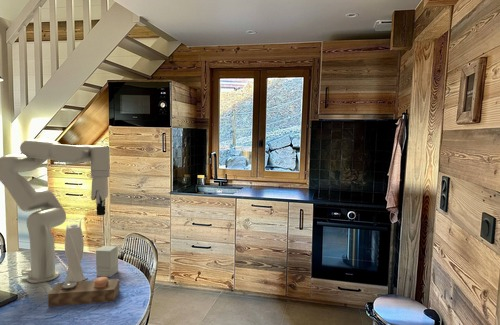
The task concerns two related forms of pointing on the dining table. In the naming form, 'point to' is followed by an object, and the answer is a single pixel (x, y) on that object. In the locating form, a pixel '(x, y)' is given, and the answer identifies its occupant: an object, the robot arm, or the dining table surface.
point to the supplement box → (107, 261)
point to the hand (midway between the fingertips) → (101, 214)
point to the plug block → (83, 293)
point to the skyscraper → (74, 252)
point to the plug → (69, 285)
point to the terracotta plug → (101, 282)
